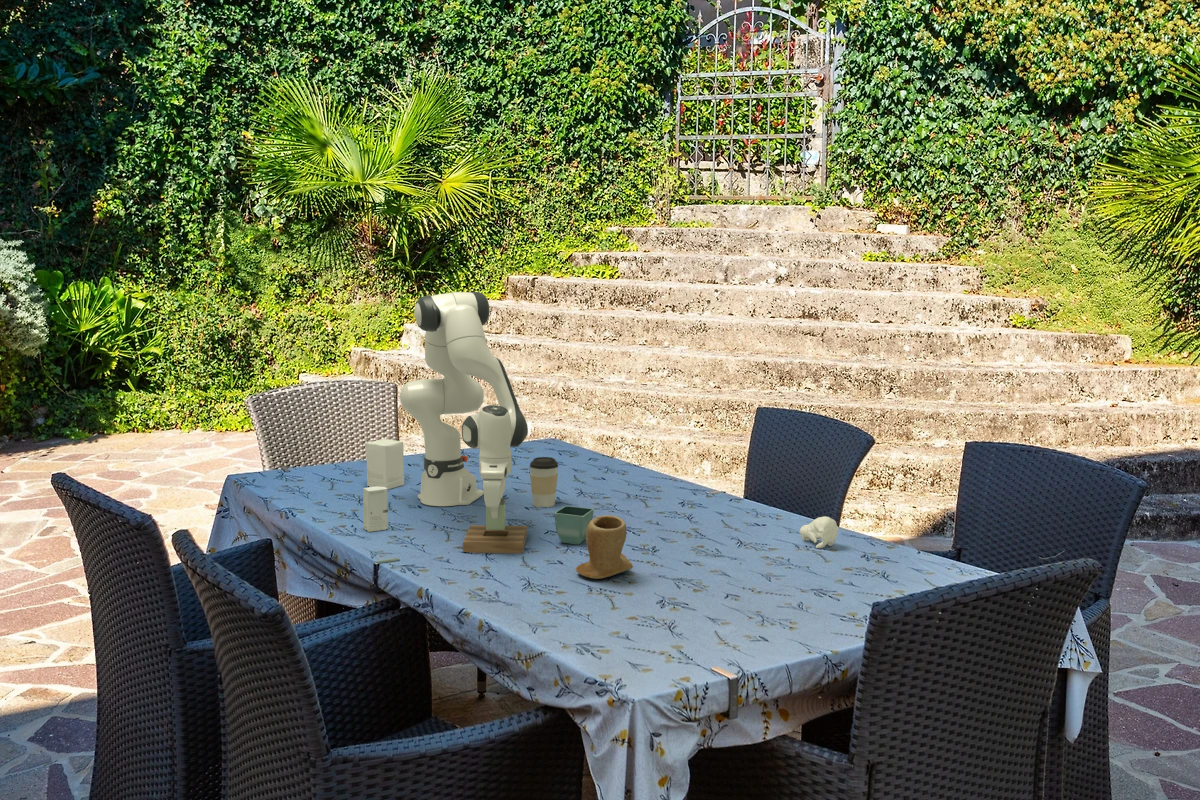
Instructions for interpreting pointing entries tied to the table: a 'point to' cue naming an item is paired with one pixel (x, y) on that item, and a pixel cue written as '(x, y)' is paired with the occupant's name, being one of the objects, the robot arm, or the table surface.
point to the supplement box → (385, 463)
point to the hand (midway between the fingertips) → (495, 515)
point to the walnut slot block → (495, 539)
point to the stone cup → (605, 548)
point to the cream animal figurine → (820, 531)
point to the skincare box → (375, 508)
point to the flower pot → (572, 523)
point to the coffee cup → (543, 481)
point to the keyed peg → (496, 522)
